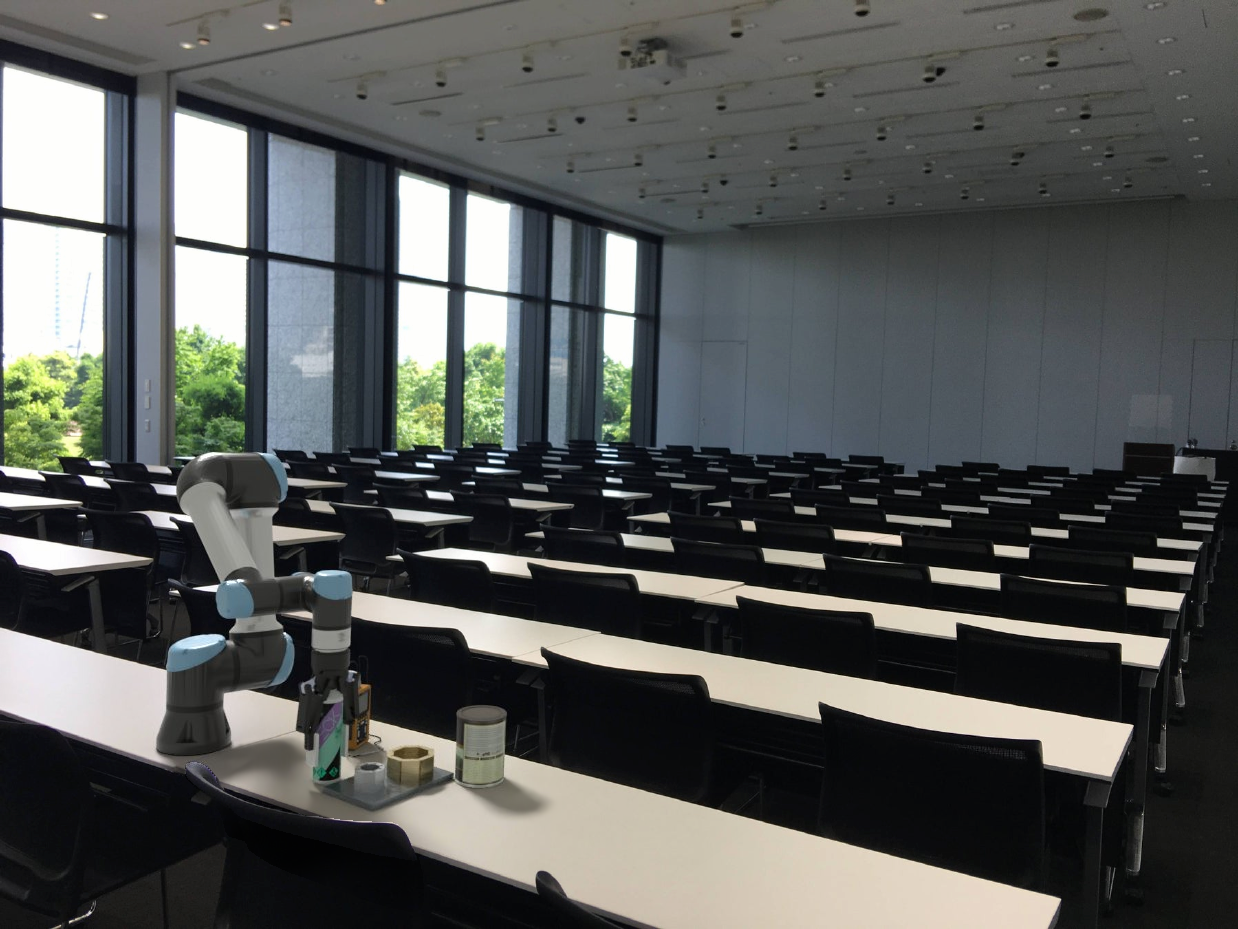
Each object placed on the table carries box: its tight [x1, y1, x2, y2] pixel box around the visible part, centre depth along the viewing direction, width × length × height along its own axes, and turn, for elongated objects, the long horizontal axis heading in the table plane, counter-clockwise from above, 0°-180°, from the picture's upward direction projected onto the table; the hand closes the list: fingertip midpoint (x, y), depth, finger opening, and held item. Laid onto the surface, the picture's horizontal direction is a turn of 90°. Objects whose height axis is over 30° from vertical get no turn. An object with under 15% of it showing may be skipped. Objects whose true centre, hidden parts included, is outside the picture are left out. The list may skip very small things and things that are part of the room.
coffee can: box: [453, 704, 508, 789], centre depth 201 cm, size 10×10×14 cm
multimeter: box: [344, 655, 387, 758], centre depth 217 cm, size 15×10×20 cm
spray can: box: [312, 688, 343, 785], centre depth 197 cm, size 6×6×20 cm
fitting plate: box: [322, 744, 455, 812], centre depth 195 cm, size 14×22×5 cm, turn 146°
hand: (327, 760), depth 197 cm, fingers open, 7 cm apart
